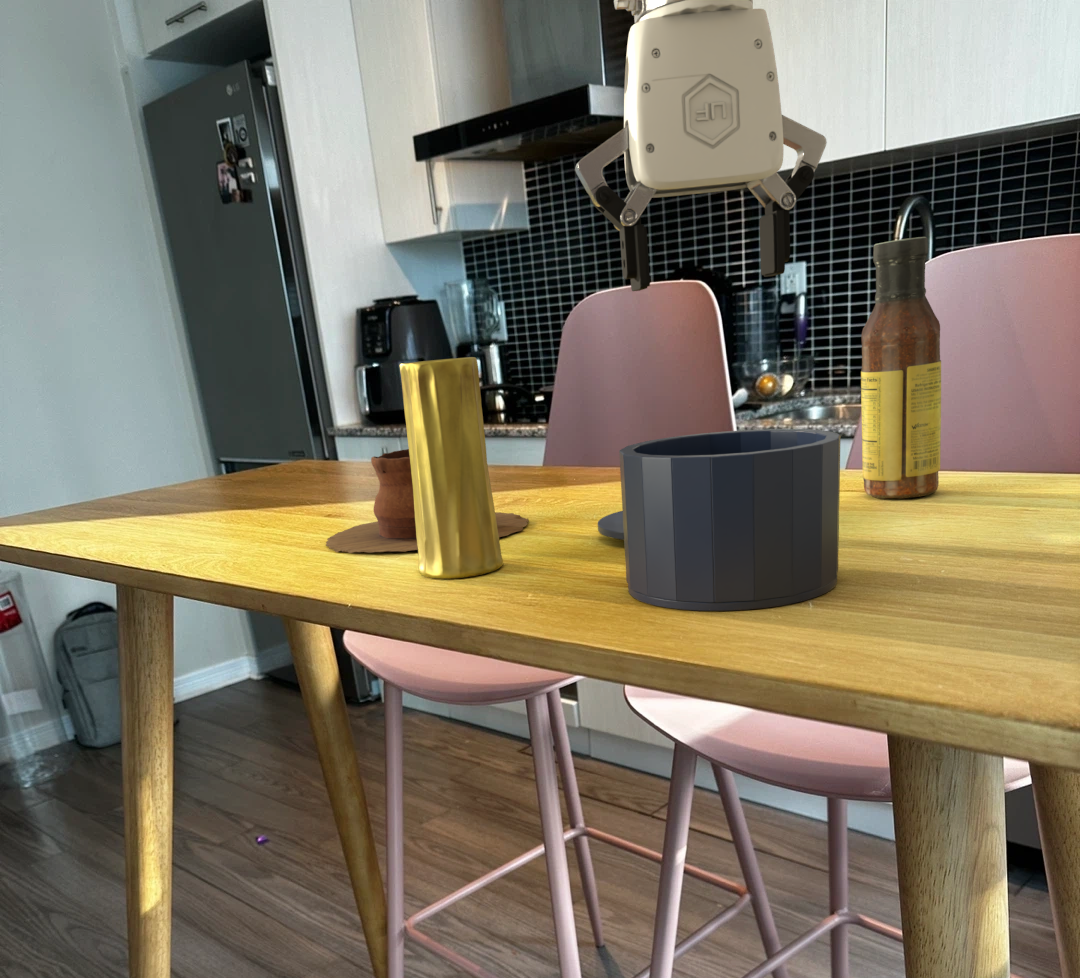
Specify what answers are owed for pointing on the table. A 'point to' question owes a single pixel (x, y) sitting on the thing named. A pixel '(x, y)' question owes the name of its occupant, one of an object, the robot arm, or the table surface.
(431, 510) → the vase
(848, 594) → the table surface
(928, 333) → the sauce bottle
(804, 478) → the tin
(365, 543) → the ceramic pot
